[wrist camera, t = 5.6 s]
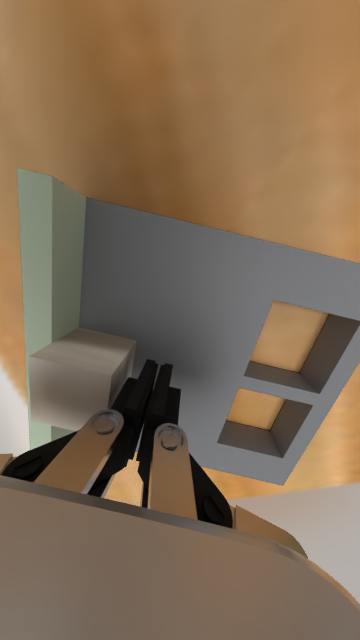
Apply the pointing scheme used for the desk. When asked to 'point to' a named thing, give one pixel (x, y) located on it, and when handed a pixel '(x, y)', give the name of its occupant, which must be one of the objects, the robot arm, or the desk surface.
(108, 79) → the desk surface
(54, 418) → the cream block
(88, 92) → the desk surface
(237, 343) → the trap deck
